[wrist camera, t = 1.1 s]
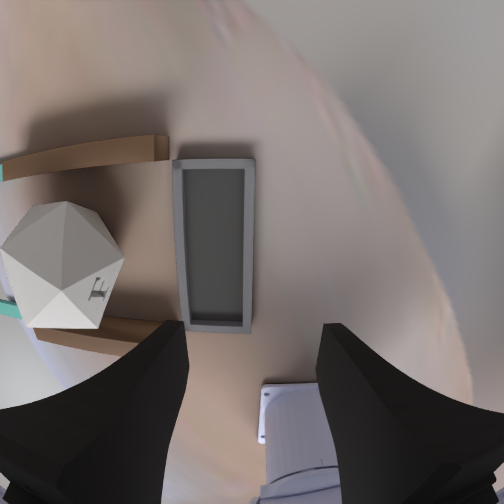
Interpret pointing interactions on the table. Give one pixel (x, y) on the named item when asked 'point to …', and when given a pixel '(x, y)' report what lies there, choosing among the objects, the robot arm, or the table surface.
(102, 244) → the die
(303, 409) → the robot arm
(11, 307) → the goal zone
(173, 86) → the table surface
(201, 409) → the table surface
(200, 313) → the grey flat rectangular tray
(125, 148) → the channel
